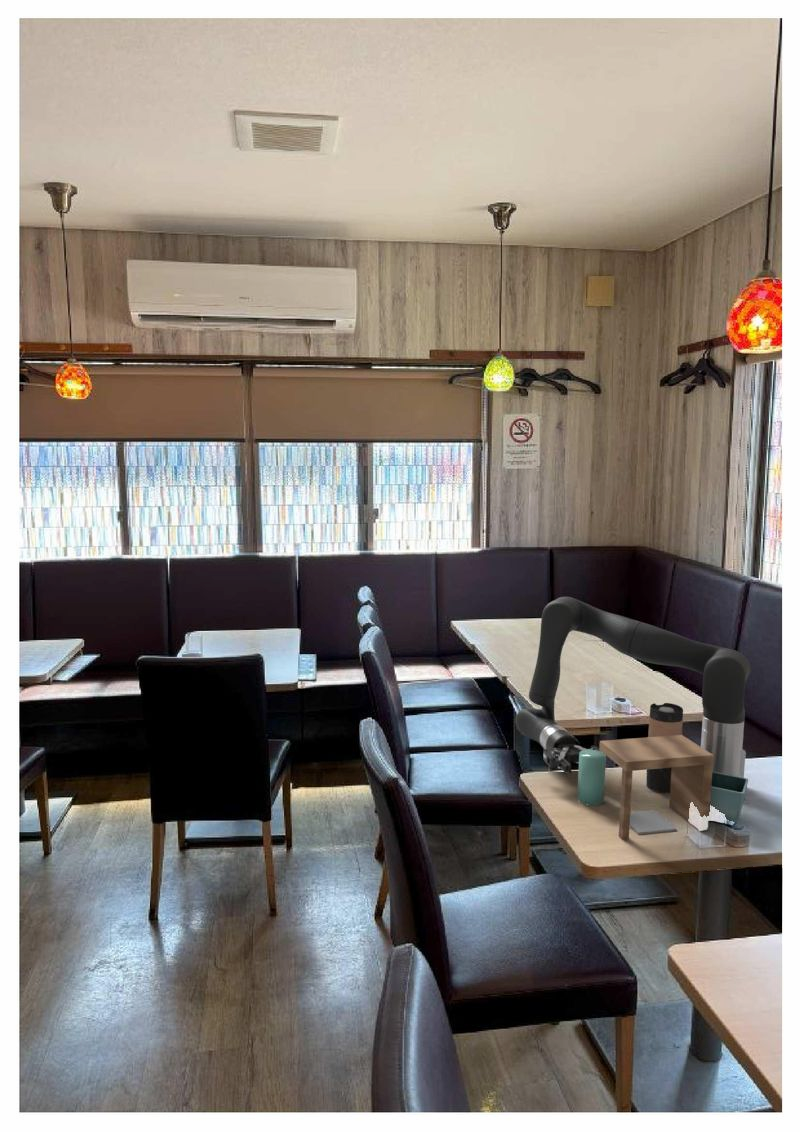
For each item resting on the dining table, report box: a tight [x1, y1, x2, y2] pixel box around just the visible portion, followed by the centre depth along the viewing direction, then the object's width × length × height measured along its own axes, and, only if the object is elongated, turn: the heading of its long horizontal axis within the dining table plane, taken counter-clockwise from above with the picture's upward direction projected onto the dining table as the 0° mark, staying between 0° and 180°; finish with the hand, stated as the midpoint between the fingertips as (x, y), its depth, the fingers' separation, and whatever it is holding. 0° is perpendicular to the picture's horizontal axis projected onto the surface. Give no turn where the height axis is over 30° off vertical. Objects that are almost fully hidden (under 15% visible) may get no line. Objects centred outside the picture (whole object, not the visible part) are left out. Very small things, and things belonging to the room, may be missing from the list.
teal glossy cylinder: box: [576, 750, 607, 806], centre depth 182 cm, size 6×6×11 cm
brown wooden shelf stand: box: [598, 734, 713, 841], centre depth 171 cm, size 20×12×17 cm, turn 102°
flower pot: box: [710, 772, 749, 823], centre depth 173 cm, size 9×9×9 cm
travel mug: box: [645, 702, 684, 794], centre depth 188 cm, size 8×8×20 cm
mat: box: [617, 809, 678, 835], centre depth 172 cm, size 9×9×1 cm
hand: (587, 768), depth 184 cm, fingers open, 8 cm apart
